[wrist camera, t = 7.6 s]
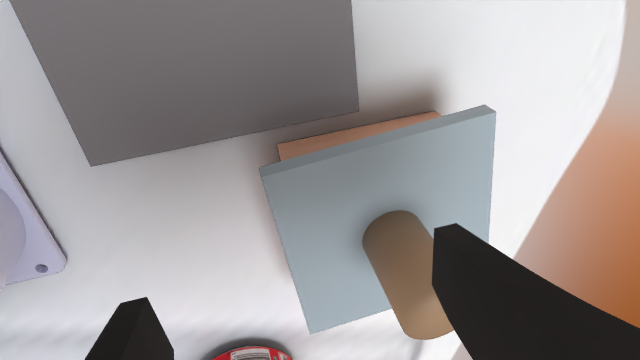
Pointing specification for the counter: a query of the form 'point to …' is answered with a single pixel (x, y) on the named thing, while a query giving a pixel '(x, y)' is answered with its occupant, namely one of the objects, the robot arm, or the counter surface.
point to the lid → (382, 218)
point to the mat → (190, 68)
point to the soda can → (253, 354)
